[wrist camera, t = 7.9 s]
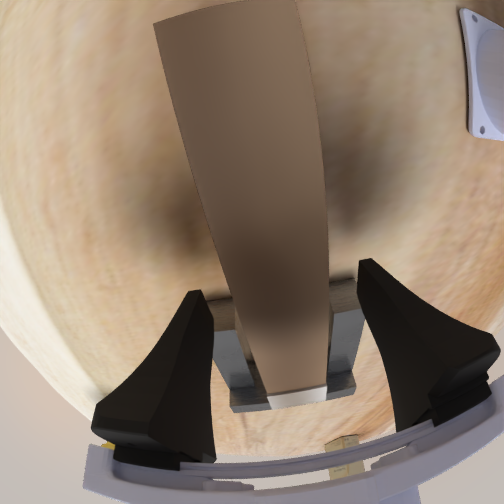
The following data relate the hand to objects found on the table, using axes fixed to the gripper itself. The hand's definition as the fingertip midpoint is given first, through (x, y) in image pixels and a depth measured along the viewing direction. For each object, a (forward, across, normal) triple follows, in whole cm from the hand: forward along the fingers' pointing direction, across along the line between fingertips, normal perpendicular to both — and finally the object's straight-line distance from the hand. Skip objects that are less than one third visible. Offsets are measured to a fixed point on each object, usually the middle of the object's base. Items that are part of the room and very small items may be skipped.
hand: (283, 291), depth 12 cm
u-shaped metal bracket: (+3, 0, +8) cm, 8 cm away
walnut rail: (+3, 0, -1) cm, 3 cm away
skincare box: (+3, -7, +49) cm, 50 cm away
